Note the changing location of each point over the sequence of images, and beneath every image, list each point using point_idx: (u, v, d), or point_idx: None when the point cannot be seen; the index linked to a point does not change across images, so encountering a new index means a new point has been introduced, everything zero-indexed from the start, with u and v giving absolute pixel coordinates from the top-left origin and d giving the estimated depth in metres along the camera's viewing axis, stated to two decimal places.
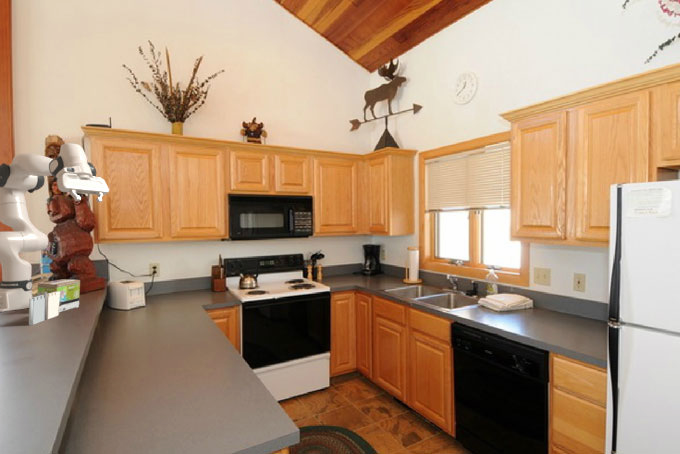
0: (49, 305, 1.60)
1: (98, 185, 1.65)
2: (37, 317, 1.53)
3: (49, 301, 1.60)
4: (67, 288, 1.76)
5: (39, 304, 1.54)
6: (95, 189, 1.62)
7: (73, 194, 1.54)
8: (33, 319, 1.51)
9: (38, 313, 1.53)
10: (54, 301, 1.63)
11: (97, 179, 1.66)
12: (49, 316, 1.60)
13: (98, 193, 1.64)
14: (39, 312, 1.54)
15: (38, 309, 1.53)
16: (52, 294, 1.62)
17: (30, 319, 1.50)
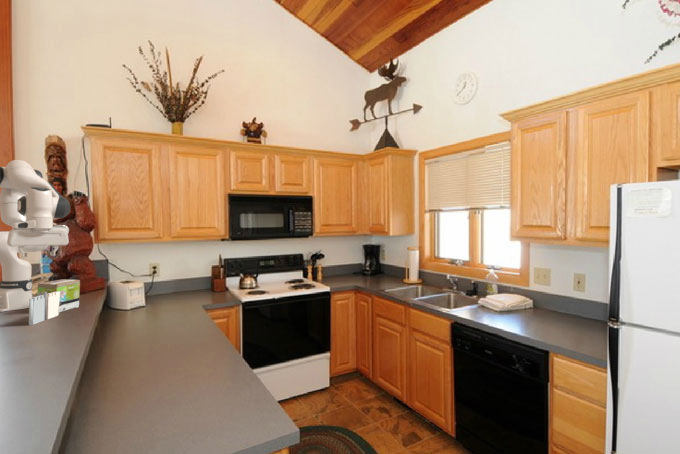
0: (49, 305, 1.60)
1: (55, 238, 1.56)
2: (37, 317, 1.53)
3: (49, 301, 1.60)
4: (66, 288, 1.76)
5: (39, 304, 1.54)
6: (49, 244, 1.55)
7: (20, 250, 1.48)
8: (33, 319, 1.51)
9: (38, 313, 1.53)
10: (54, 301, 1.63)
11: (57, 231, 1.56)
12: (49, 316, 1.60)
13: (54, 246, 1.57)
14: (39, 312, 1.54)
15: (38, 309, 1.53)
16: (52, 294, 1.62)
17: (30, 319, 1.50)
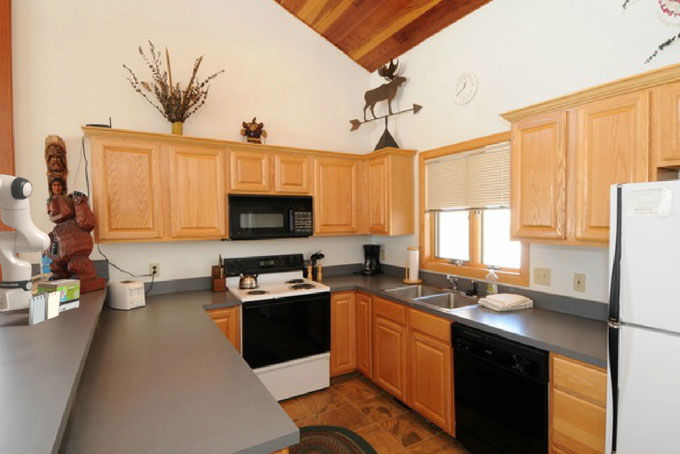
0: (49, 305, 1.60)
1: None
2: (37, 317, 1.53)
3: (49, 301, 1.60)
4: (66, 288, 1.76)
5: (39, 304, 1.54)
6: None
7: None
8: (33, 319, 1.51)
9: (38, 313, 1.53)
10: (54, 301, 1.63)
11: None
12: (49, 316, 1.60)
13: None
14: (39, 312, 1.54)
15: (38, 309, 1.53)
16: (52, 294, 1.62)
17: (30, 319, 1.50)
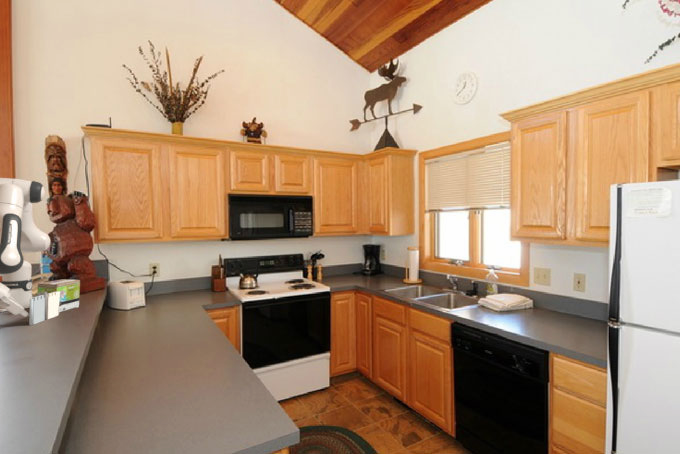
0: (49, 305, 1.60)
1: None
2: (37, 317, 1.53)
3: (49, 301, 1.60)
4: (66, 288, 1.76)
5: (39, 304, 1.54)
6: None
7: None
8: (33, 319, 1.51)
9: (38, 313, 1.54)
10: (54, 301, 1.63)
11: None
12: (49, 316, 1.60)
13: None
14: (39, 312, 1.54)
15: (38, 309, 1.53)
16: (52, 294, 1.62)
17: (30, 319, 1.50)
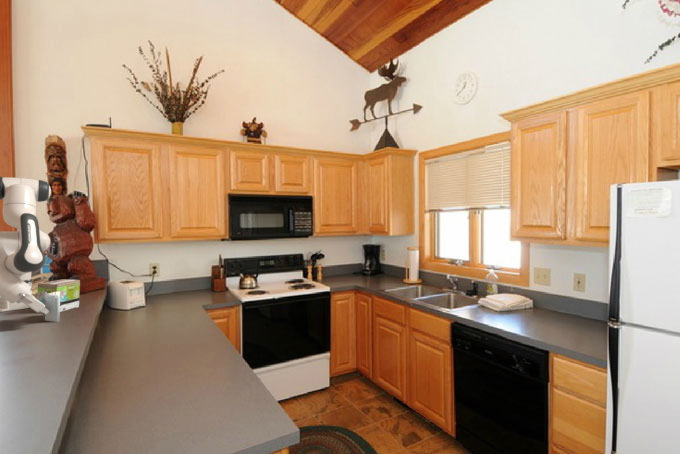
0: None
1: None
2: None
3: None
4: (66, 288, 1.76)
5: None
6: None
7: None
8: None
9: None
10: None
11: None
12: None
13: None
14: None
15: None
16: (52, 294, 1.62)
17: (59, 316, 1.56)
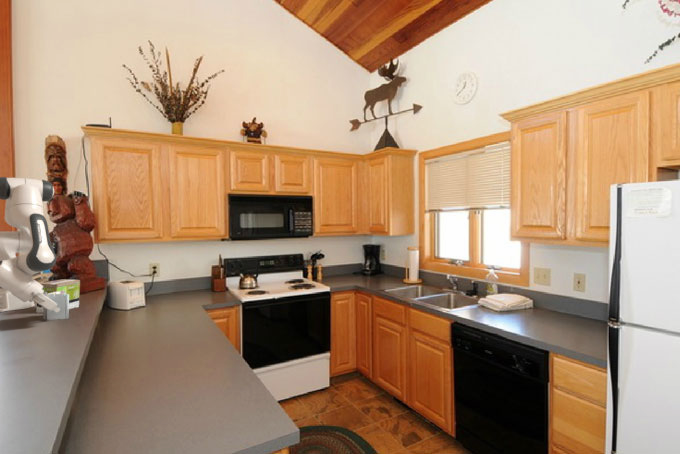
0: None
1: None
2: None
3: None
4: (66, 288, 1.76)
5: None
6: None
7: None
8: None
9: None
10: None
11: (34, 300, 1.47)
12: None
13: None
14: None
15: None
16: None
17: (68, 312, 1.62)
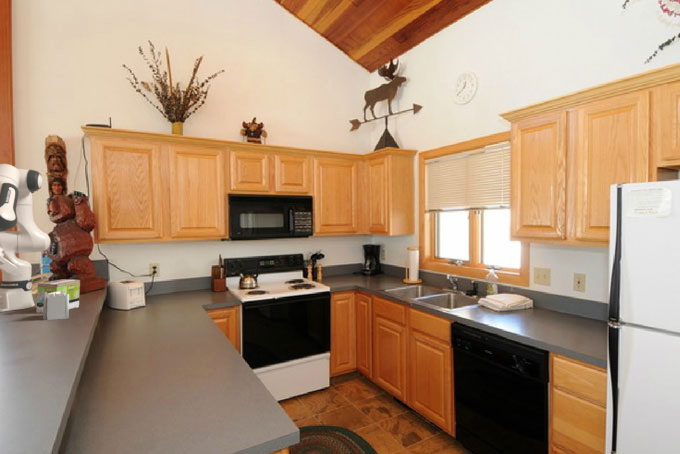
0: None
1: None
2: None
3: None
4: (66, 288, 1.76)
5: None
6: None
7: None
8: None
9: None
10: None
11: None
12: None
13: None
14: None
15: None
16: None
17: (68, 312, 1.62)
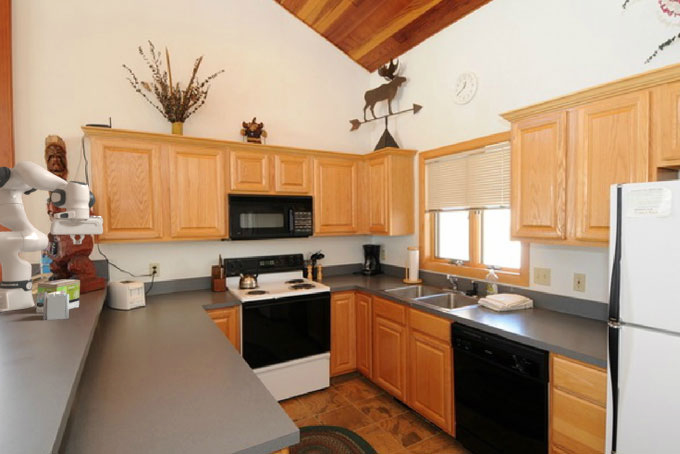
0: None
1: (92, 228, 1.72)
2: None
3: None
4: (66, 288, 1.76)
5: None
6: (86, 233, 1.70)
7: (72, 238, 1.67)
8: None
9: None
10: None
11: (93, 221, 1.72)
12: None
13: (80, 235, 1.69)
14: None
15: None
16: None
17: (68, 312, 1.62)
